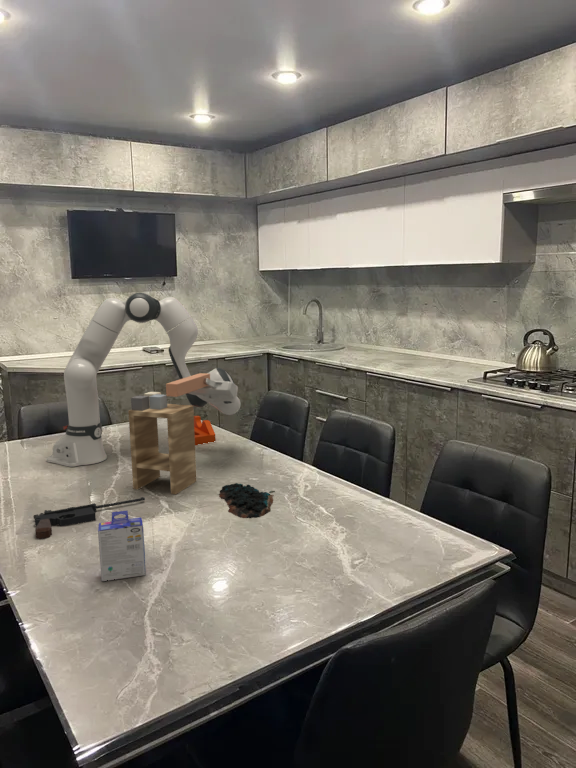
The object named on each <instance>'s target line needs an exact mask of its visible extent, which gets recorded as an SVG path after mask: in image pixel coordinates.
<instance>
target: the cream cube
mask: <svg viewBox="0 0 576 768" xmlns="http://www.w3.org/2000/svg"><path fill="white" fill-rule="evenodd" d="M156 394H160V395H162V392H161V391H160V392H159V391H149V392H146V393H143V396H152V395H156ZM149 406H150V401H149Z"/></svg>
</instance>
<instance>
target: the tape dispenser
mask: <svg viewBox="0 0 576 768" xmlns="http://www.w3.org/2000/svg"><path fill="white" fill-rule="evenodd" d="M201 418H202V417H201V415H194V433H195V446H199V445H198V444H201V445H204V444H203V443H207V444H209V443H208V442H213V443H215V442H214V441H216V433H215V430H214V428H213V426H212V424H211V420H208V419H205V420H202V419H201Z"/></svg>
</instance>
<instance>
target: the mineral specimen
mask: <svg viewBox="0 0 576 768" xmlns="http://www.w3.org/2000/svg"><path fill="white" fill-rule="evenodd" d="M273 493H276V490H270V491H269V492H267V491H260V490H259V489H258V488H255V487H254V486H251V485H250V484H246V485H243V483H237V482H235V483H231V484H225V485H223V486H222V487H221V489H220V490H219V493H218V497H219V498H220V500H224V502H225V503H226V506H227V507H228V510H227V512H228V513H230V514H232V515H234V516H236V517H238V518H241V519H258V518H261V517H264V516H265V515H267V514H268V513H270V512H272V511H271V507H272V505H273V503H274V497H275V495H274V494H273Z"/></svg>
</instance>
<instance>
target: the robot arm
mask: <svg viewBox="0 0 576 768" xmlns="http://www.w3.org/2000/svg"><path fill="white" fill-rule="evenodd" d="M152 320H154V321H157V323H159V324H160V325H161V326H162V328H163V329H164V331H165V333H166V334H167V336H168V338H169V347H168V353H169V357H170V359H171V362H172V365H173V367H174V369H175V371H176V375H177V377H178V378H179V379H178V380H180V379H183V378H186V377H189V376H192V375H191V373H190V370H189V369H188V366H187V364H186V361H185V360H186V356H187V354H188V352H189V351H190V349H191V348H192V346H193V345H194V344H195V342H196V340H197V338H198V334H199V330H198V329H199V328H198V326H197V324H196V323H195V320H194V319H193V317H192V316H191V314H190V312H189V311H188V310H187V309H186V307H185V306H184V305H183V304H182V303H181V301H180V300H178V298H176V297H173V296H167V297H164V298H163V299H160V300H158V299H157V298H155V297H153V296H151V294H148V293H145V292H135V293H133V294H131V295H130V296H129V297H128V298H127V300H121V299H119V298H115V297H108V298H106V299H105V300H104V301H103V302H102V303H101V305H100V306H99V307H98V308H97V309H96V311H95V313H94V314H93V316H92V317H91V320H90V321H89V324H88V325H87V327H86V329H85V330H84V333H83V335H82V336H81V339H80V340H79V342H78V343H77V346H76V347H75V349H74V351H73V354H72V355H71V357H70V359H69V360H68V363H67V364H66V367H65V369H64V371H63V380H64V381H63V382H64V389H65V397H66V404H67V414H68V417H67V419H68V424H66V425H65V426H63V430H66V431H65V434H64V435H63V436H62V437H61V438H60V439H58V440H57V441H56V442H54V444H53V445H52V454H50V455H49V456H47V457H46V460H45V461H46V462H49V463H51V464H52V463H53V464H57V465H61V466H65V467H79V466H86V465H94V464H98V463H100V462H103V461H105V460H106V459H107V458H108V455H107V453H106V450H105V447H104V442H103V438H102V432H103V429H102V422H101V419H100V417H101V416H100V403H99V401H100V400H99V395H98V394H99V393H98V381H97V374H98V373H99V371H100V369H101V367H102V366H103V363H104V362H105V361H106V358H107V357H108V355H109V354H110V351H112V348H113V346H114V344H115V342H116V340H117V339H118V337H119V335H120V333H121V331H122V329H123V327H124V326H125V324H126V323H128V322H129V321H133V322H135V323H138V324H145V323H148V322H151V321H152ZM206 374H210V379H208V378H204V381H203V383H204V384H206V385H209V386H206V387H203V388H200V389H198V390H195V391H192V392H189V393H186V394H185V396H186V399H187V402H189V405H192V406H193V407H196V408H203V407H205V406H206V405H207V404H209V405H211V406H212V407H213V408H215V409H216V410H217V411H218V412H220V413H222V414H224V415H228V416H229V415H230V416H232V415H234V414H236V413H237V412H238V411H239V410H240V409H241V405H242V404H241V399H240V398H239V397H238V390H239V386H238V385H236V384H235V382H234V380H233V378H232V376H231V375H230V373H228V372H227V370H226V369H224V368H221V367H215V368H214V369H212V370H211V371H208V372H207V373H206Z"/></svg>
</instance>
